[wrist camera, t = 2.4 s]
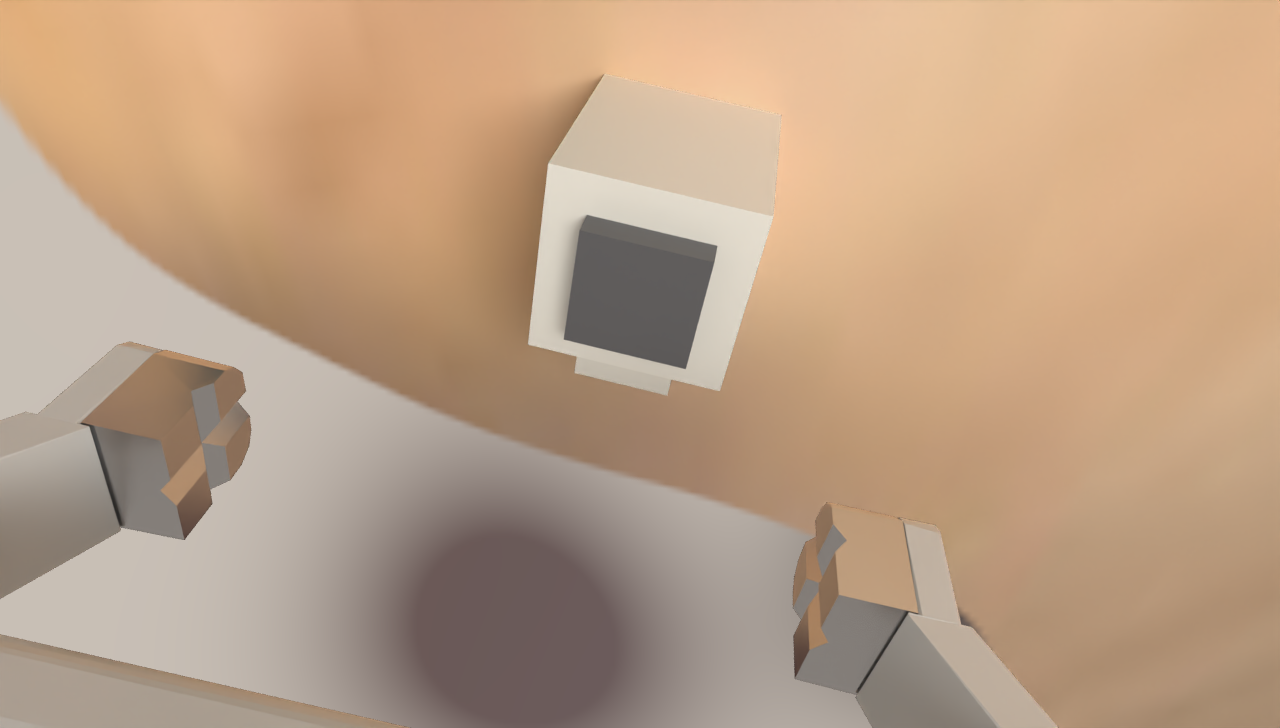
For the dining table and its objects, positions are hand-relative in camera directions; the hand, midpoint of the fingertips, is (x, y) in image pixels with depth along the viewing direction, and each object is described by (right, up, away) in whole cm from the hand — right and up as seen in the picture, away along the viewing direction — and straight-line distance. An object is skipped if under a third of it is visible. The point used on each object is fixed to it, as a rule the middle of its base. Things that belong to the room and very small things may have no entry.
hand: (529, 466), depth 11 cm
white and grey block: (+2, +6, +8) cm, 10 cm away
